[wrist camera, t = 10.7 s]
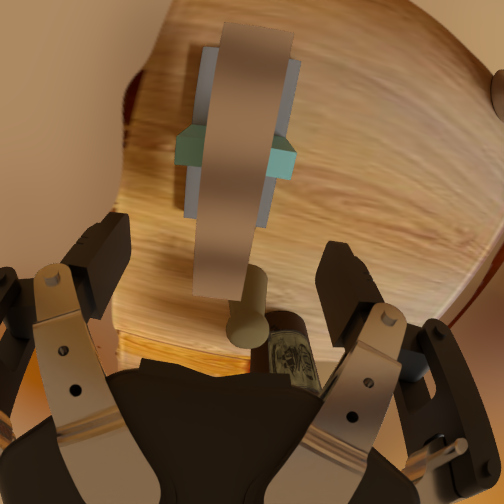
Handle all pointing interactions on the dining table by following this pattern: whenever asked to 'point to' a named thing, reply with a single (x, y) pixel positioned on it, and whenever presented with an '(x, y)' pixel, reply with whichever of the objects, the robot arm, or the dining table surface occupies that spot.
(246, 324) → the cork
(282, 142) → the balance stand
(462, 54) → the dining table surface
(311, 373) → the olive oil
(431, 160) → the dining table surface
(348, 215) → the dining table surface
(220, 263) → the walnut bar
